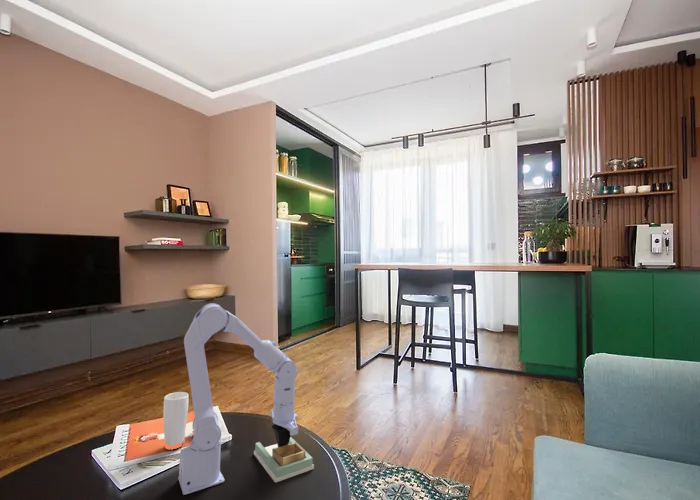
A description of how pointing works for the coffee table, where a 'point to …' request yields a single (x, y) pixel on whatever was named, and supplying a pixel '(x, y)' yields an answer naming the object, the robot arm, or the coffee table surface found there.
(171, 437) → the drinking glass
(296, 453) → the crate
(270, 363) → the robot arm
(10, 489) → the coffee table surface
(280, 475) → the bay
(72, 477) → the coffee table surface
